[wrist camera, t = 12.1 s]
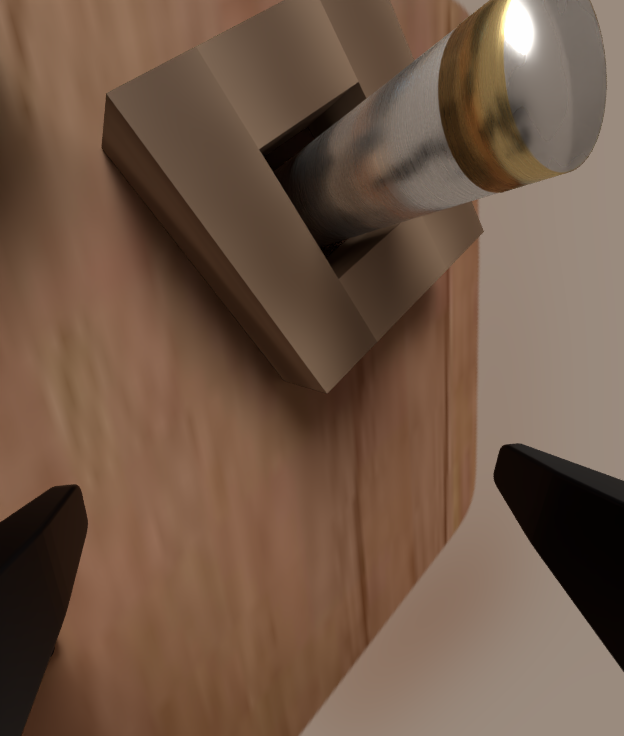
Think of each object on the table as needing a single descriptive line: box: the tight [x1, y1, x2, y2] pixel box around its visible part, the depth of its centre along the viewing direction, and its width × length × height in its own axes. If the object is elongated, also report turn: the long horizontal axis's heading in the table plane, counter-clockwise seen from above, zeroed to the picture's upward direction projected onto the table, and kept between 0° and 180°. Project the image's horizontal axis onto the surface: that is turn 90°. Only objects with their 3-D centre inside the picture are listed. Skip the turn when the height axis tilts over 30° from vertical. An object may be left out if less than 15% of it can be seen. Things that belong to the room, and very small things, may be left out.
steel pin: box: [273, 0, 607, 247], centre depth 14 cm, size 4×4×12 cm
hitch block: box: [102, 0, 484, 394], centre depth 17 cm, size 12×12×4 cm
